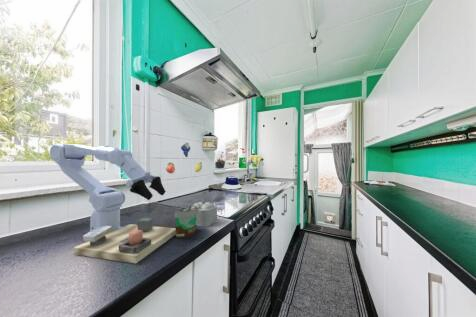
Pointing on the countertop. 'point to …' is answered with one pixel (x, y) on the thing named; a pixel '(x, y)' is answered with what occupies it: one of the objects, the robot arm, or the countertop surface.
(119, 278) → the countertop surface
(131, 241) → the push button
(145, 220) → the slider knob
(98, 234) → the rocker switch
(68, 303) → the countertop surface
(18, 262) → the countertop surface
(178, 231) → the food container
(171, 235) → the control board
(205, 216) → the lumpy-topped squat cylinder
